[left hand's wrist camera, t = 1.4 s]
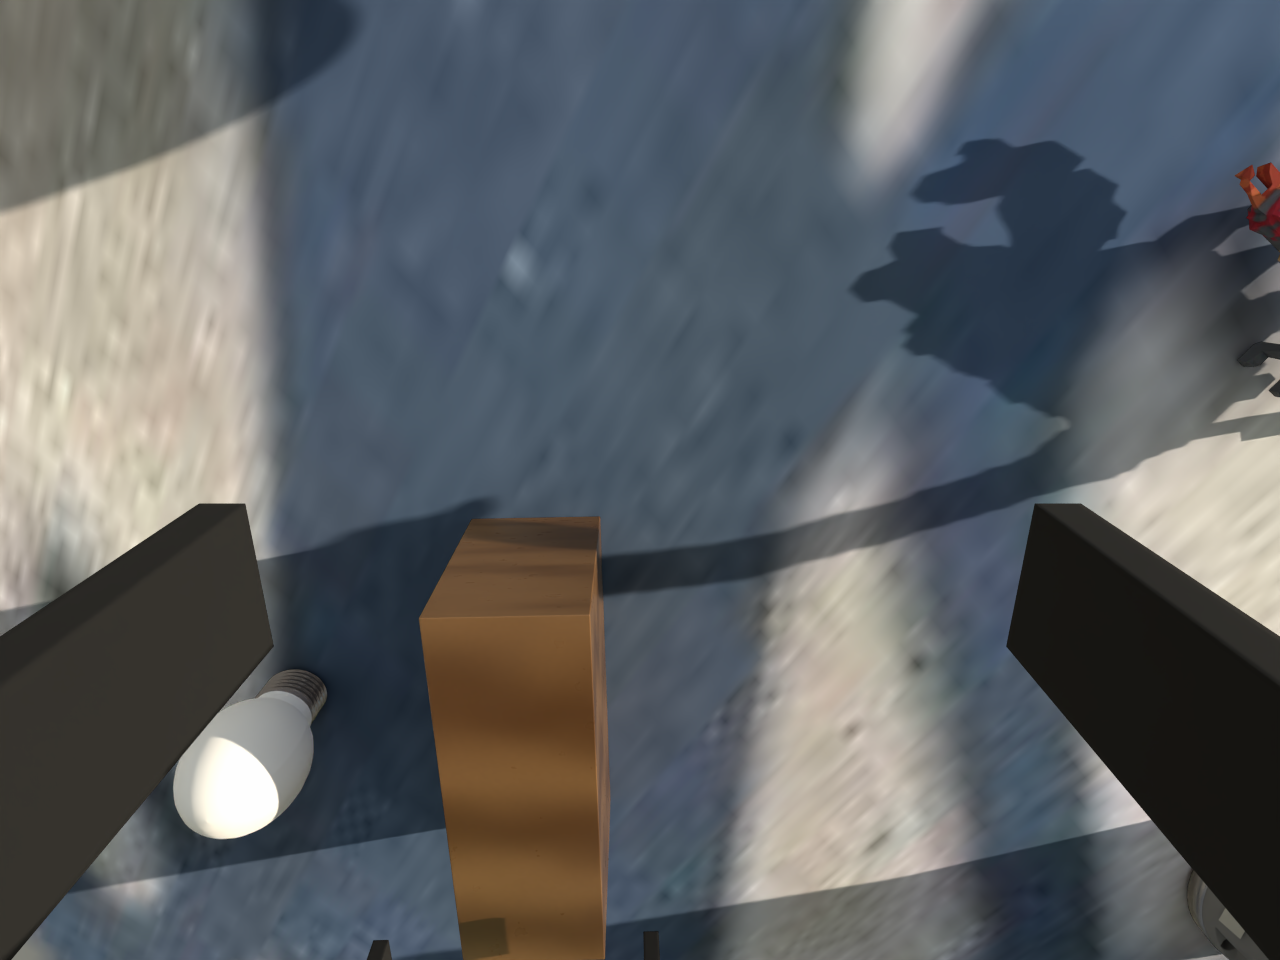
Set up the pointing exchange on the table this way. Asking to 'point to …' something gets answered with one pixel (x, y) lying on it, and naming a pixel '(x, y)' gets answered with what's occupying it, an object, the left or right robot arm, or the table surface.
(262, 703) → the light bulb
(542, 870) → the box
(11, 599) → the table surface
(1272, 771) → the left robot arm
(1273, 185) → the toy
